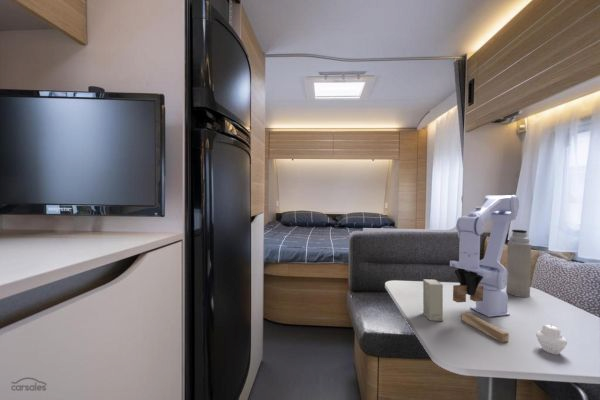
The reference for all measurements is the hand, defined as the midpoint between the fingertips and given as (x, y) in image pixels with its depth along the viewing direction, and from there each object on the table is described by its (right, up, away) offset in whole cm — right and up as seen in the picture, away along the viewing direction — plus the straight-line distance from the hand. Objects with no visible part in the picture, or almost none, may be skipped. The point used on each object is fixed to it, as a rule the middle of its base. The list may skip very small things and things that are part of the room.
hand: (468, 293), depth 88 cm
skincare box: (-10, -9, +3) cm, 14 cm away
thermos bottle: (+40, -10, +28) cm, 50 cm away
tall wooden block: (0, -2, 0) cm, 2 cm away
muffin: (+12, -10, -16) cm, 23 cm away
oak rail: (+1, -10, -6) cm, 11 cm away
